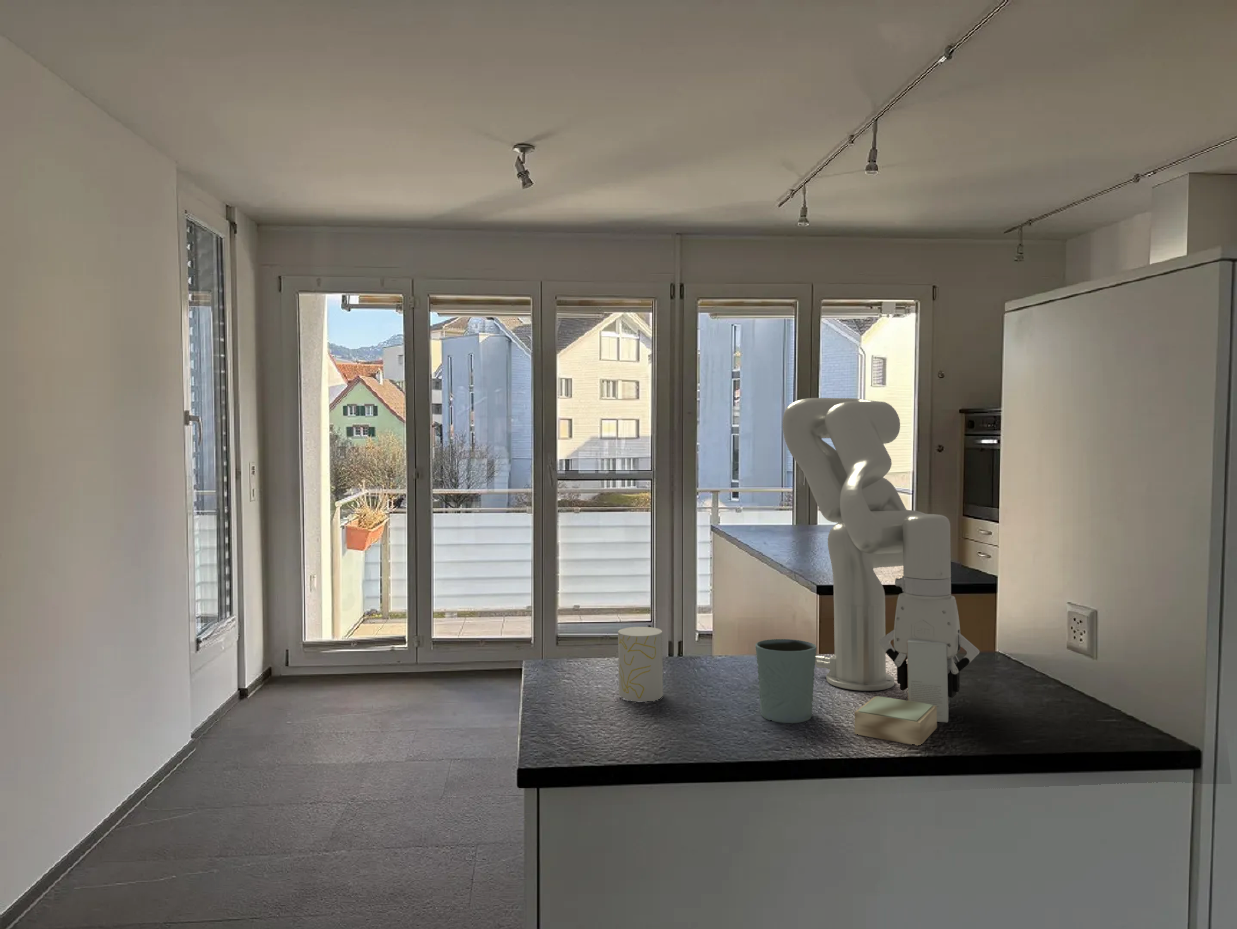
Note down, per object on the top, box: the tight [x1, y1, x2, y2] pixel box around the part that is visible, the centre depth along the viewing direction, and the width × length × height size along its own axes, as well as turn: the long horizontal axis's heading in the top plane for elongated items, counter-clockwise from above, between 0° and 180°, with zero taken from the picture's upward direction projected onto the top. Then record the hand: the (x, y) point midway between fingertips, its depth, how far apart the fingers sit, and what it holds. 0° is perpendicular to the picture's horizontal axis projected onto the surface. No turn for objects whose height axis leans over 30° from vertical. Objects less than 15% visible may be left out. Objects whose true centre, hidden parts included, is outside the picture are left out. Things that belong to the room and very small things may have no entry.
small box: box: [906, 639, 949, 723], centre depth 140 cm, size 8×6×13 cm
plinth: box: [854, 695, 938, 746], centre depth 132 cm, size 10×10×4 cm
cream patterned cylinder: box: [617, 626, 664, 702], centre depth 153 cm, size 8×8×12 cm
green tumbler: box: [754, 638, 817, 724], centre depth 141 cm, size 10×10×12 cm
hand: (928, 691), depth 140 cm, fingers closed on small box, 7 cm apart
